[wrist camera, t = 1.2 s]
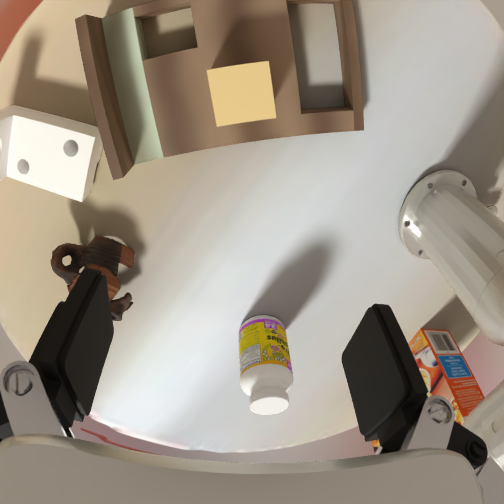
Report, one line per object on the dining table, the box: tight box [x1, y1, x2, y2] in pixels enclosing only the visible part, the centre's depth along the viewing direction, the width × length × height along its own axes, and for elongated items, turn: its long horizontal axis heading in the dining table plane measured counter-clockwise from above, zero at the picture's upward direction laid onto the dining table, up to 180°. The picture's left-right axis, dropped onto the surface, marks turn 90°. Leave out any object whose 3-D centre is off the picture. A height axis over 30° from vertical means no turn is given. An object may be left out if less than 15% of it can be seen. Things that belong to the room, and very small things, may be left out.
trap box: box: [75, 0, 364, 180], centre depth 23 cm, size 23×15×6 cm, turn 98°
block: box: [207, 61, 276, 127], centre depth 23 cm, size 4×4×4 cm
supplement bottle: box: [239, 315, 293, 415], centre depth 40 cm, size 7×7×13 cm
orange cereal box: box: [372, 329, 485, 453], centre depth 43 cm, size 23×8×30 cm, turn 165°
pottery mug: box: [51, 237, 135, 321], centre depth 35 cm, size 12×10×8 cm
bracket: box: [0, 105, 103, 202], centre depth 25 cm, size 13×7×8 cm, turn 66°
